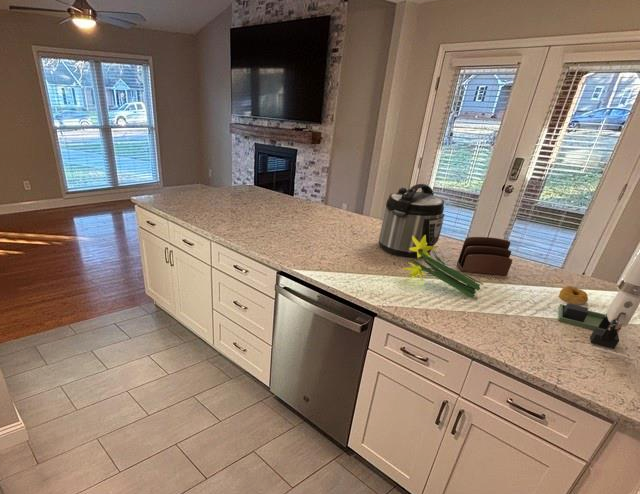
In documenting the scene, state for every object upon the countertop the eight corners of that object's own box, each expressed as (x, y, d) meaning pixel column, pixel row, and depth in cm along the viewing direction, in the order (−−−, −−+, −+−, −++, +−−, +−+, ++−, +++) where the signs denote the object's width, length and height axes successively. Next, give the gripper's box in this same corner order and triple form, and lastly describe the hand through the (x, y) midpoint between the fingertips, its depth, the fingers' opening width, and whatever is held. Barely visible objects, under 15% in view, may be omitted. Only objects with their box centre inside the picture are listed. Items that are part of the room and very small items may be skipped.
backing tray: (612, 321, 154) (615, 316, 153) (615, 337, 144) (618, 331, 143) (557, 308, 161) (560, 303, 160) (557, 322, 152) (560, 317, 150)
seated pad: (582, 317, 155) (587, 307, 152) (583, 322, 151) (588, 312, 149) (562, 312, 157) (567, 302, 155) (562, 317, 154) (567, 307, 152)
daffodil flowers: (466, 306, 161) (389, 262, 173) (463, 310, 175) (392, 269, 186) (494, 269, 158) (414, 226, 169) (488, 276, 172) (414, 236, 183)
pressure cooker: (390, 260, 198) (406, 191, 180) (365, 241, 221) (377, 178, 203) (446, 258, 203) (466, 191, 186) (416, 239, 226) (432, 178, 209)
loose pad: (611, 344, 140) (618, 334, 138) (613, 350, 136) (619, 340, 134) (589, 338, 143) (594, 328, 141) (589, 344, 139) (595, 334, 137)
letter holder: (456, 263, 198) (466, 234, 190) (500, 268, 196) (511, 238, 188) (461, 271, 190) (471, 241, 182) (507, 276, 187) (519, 246, 180)
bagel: (560, 303, 165) (566, 292, 162) (555, 293, 174) (560, 282, 171) (589, 308, 162) (595, 297, 160) (582, 297, 171) (587, 287, 168)
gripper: (653, 301, 120) (620, 350, 130) (644, 282, 133) (615, 327, 142) (622, 294, 124) (592, 342, 133) (616, 275, 136) (590, 320, 146)
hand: (604, 334), depth 138 cm, fingers open, 9 cm apart
